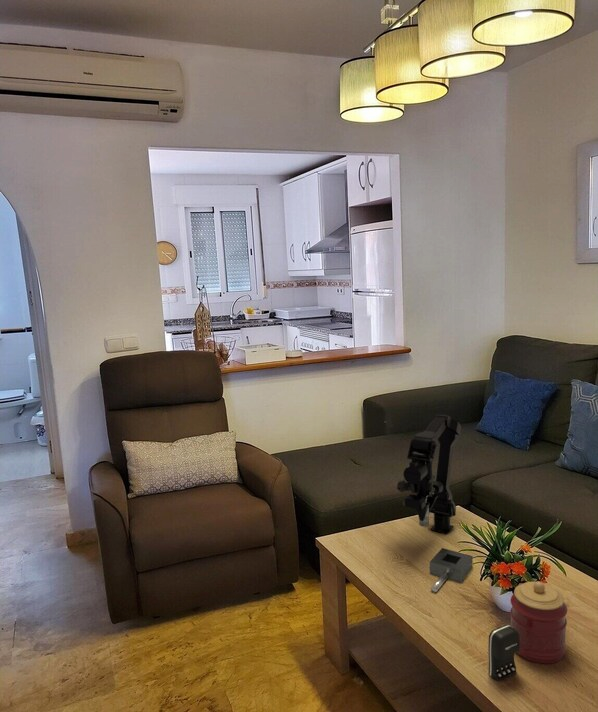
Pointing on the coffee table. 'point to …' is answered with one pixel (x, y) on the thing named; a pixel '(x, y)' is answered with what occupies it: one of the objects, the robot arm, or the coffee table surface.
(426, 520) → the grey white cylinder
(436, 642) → the coffee table surface
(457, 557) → the chuck block
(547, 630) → the canister
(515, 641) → the battery charger
